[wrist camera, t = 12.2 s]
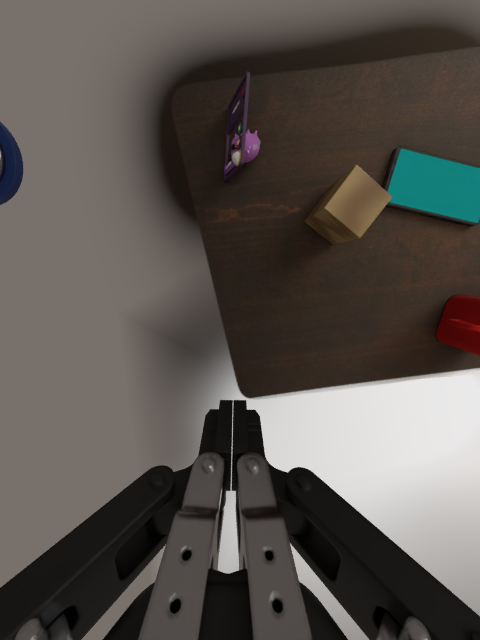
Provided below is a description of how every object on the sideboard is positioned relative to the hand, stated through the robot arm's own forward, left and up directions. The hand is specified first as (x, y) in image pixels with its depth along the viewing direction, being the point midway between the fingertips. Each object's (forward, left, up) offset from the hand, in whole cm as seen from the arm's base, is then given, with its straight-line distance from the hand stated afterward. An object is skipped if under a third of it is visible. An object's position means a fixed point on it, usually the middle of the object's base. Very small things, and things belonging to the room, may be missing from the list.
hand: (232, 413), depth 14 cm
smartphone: (+30, +17, -25) cm, 42 cm away
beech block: (+15, +14, -25) cm, 32 cm away
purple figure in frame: (+3, +24, -25) cm, 35 cm away
